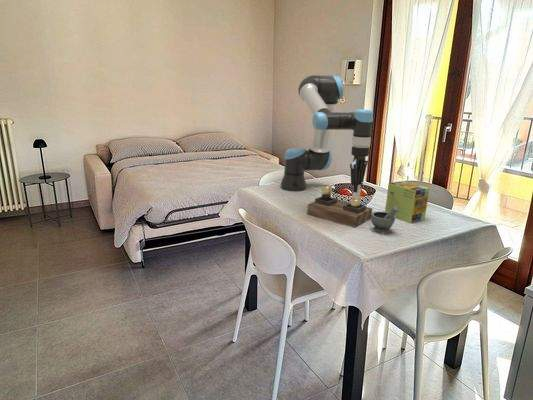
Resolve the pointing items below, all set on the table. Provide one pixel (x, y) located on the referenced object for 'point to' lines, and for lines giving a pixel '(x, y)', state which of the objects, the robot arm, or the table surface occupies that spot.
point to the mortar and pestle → (383, 220)
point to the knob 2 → (355, 203)
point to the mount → (339, 211)
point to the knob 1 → (326, 191)
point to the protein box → (407, 200)
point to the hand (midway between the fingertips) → (355, 198)
